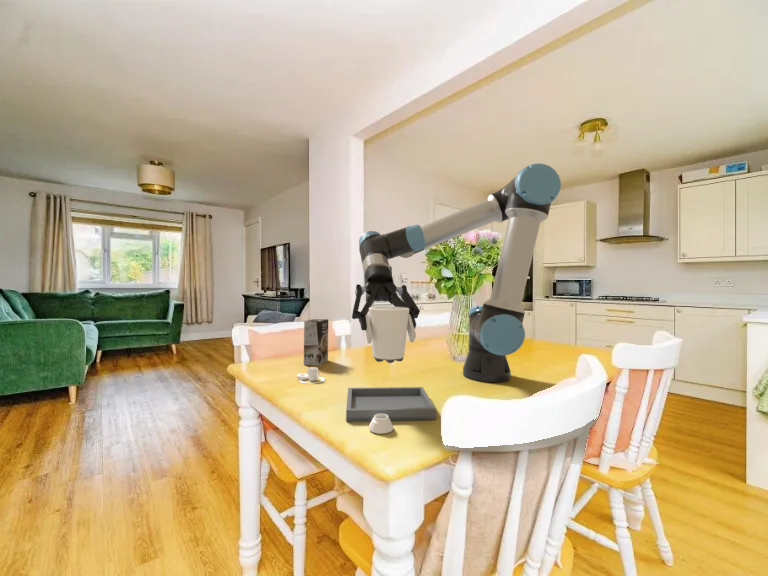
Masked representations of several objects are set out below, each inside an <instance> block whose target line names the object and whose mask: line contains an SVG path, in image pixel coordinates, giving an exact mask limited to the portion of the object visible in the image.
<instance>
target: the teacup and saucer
mask: <svg viewBox="0 0 768 576" xmlns="http://www.w3.org/2000/svg"><path fill="white" fill-rule="evenodd" d="M320 375H321V371H320V370H319V368H318V366H317V367H316V366H311V367H307V373H305V372H300V373H298V374H297V375H296V378H297V379H298V381H299V383H301V384H306V385H314V384H320V383H323V382H325V381H326V378H325V377H323V376H320ZM317 379H320V381H317ZM307 380H308V381H310V382H307ZM305 381H306V382H305ZM315 381H317V382H315Z"/></svg>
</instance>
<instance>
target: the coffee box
mask: <svg viewBox="0 0 768 576" xmlns="http://www.w3.org/2000/svg"><path fill="white" fill-rule="evenodd" d="M303 323H304V325H303V365H304V366H305V365H306V366H313V367H316V366H317V367H319V366H321V365H323V364H325V363H326V362H328V361H329V319H327V318H325V319H324V318H323V319H322V318H319V319H317V318H316V319H315V318H313V319H309V320H304V322H303ZM324 362H325V363H324Z"/></svg>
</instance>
